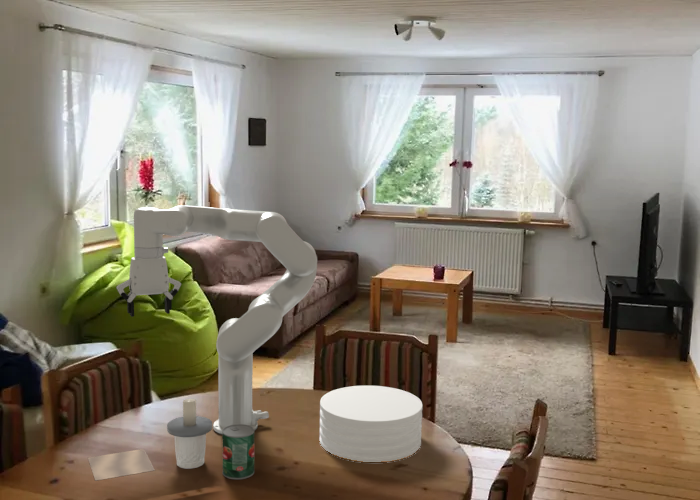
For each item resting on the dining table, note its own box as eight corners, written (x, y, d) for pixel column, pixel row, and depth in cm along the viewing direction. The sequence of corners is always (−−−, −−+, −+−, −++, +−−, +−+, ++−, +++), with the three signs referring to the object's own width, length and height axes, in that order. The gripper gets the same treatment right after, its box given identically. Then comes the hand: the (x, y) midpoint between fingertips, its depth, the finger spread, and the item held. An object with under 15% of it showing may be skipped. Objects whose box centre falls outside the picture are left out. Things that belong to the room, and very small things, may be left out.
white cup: (199, 474, 183) (198, 436, 182) (169, 471, 185) (168, 432, 183) (211, 461, 191) (211, 424, 189) (182, 458, 192) (182, 421, 191)
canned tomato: (260, 473, 185) (261, 431, 183) (233, 482, 179) (233, 439, 178) (243, 462, 190) (243, 421, 189) (216, 471, 185) (216, 429, 184)
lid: (205, 417, 194) (204, 391, 193) (217, 432, 184) (217, 404, 183) (162, 424, 189) (162, 396, 188) (173, 440, 179) (173, 411, 178)
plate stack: (398, 419, 223) (400, 382, 222) (437, 457, 197) (439, 415, 195) (308, 427, 215) (308, 389, 213) (335, 469, 188) (336, 425, 187)
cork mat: (144, 452, 195) (144, 448, 195) (155, 474, 183) (155, 470, 183) (87, 461, 189) (87, 457, 189) (95, 484, 177) (95, 480, 177)
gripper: (177, 249, 210) (177, 308, 213) (113, 252, 203) (115, 313, 205) (183, 253, 204) (184, 314, 206) (118, 256, 196) (119, 319, 199)
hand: (149, 314), depth 206 cm, fingers open, 9 cm apart
